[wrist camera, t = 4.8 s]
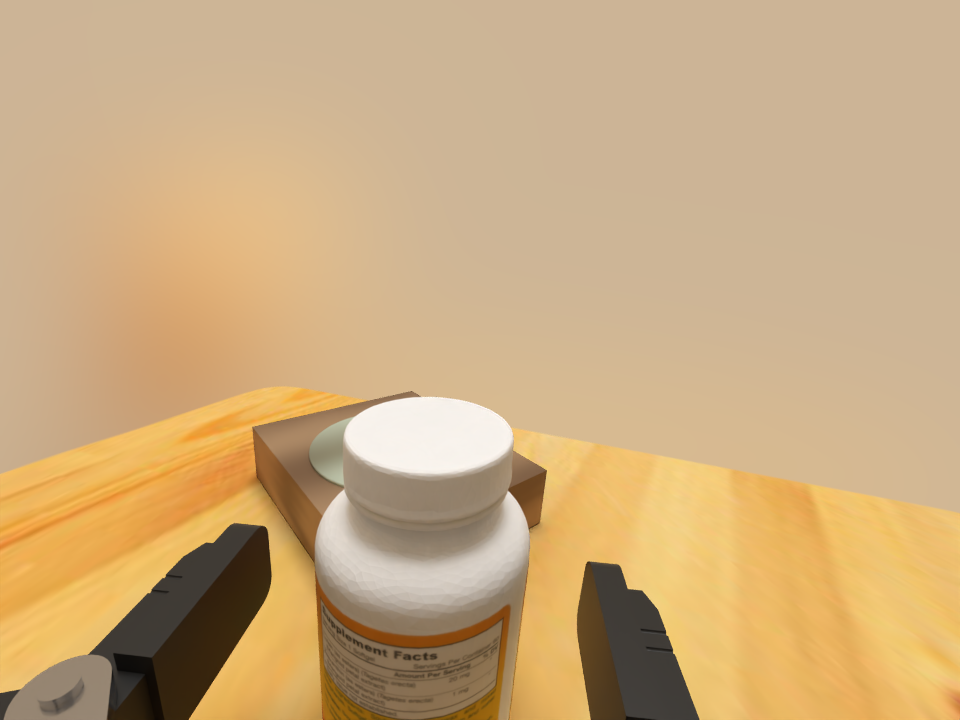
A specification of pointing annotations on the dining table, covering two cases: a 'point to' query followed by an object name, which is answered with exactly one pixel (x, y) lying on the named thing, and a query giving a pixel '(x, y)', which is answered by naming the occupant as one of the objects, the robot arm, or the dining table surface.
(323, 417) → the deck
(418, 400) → the supplement bottle
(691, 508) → the dining table surface
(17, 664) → the dining table surface
